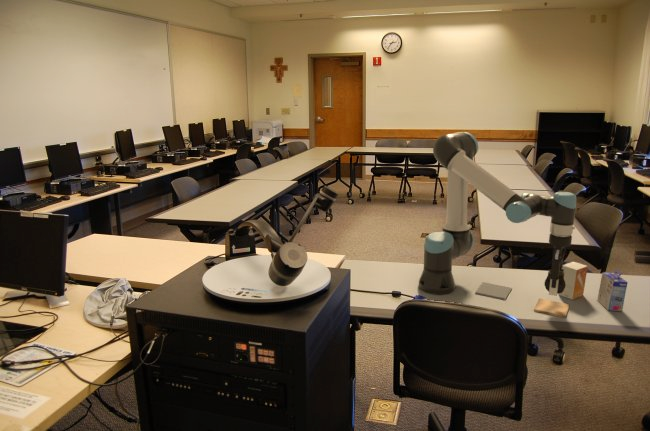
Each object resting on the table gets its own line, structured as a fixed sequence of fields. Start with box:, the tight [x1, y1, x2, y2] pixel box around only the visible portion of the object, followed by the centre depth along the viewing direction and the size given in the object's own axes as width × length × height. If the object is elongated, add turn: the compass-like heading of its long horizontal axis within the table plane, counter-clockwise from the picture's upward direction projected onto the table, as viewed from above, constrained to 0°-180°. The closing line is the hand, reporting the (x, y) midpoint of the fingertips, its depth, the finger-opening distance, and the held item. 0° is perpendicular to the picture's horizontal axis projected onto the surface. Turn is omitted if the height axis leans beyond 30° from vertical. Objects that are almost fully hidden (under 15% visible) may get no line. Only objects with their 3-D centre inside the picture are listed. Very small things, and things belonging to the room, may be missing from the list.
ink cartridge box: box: [597, 269, 628, 312], centre depth 185 cm, size 10×6×14 cm, turn 174°
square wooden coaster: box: [533, 298, 570, 319], centre depth 186 cm, size 11×11×1 cm
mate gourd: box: [544, 268, 566, 295], centre depth 182 cm, size 7×8×10 cm
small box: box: [557, 261, 588, 301], centre depth 195 cm, size 8×6×13 cm
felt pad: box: [475, 282, 512, 301], centre depth 201 cm, size 12×12×1 cm
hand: (554, 291), depth 184 cm, fingers closed on mate gourd, 7 cm apart
